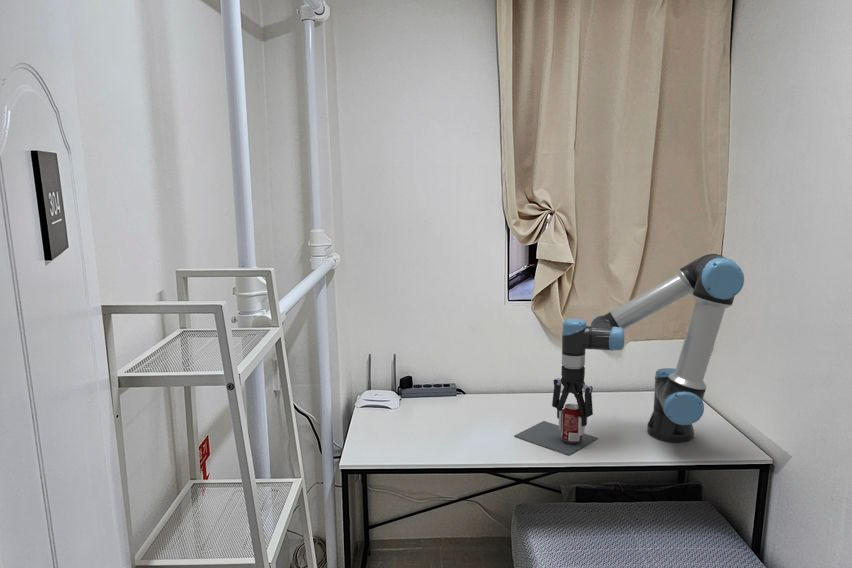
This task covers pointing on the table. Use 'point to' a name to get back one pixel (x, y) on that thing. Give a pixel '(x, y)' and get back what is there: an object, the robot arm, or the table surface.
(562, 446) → the rubber mat
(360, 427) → the table surface
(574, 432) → the soda can
